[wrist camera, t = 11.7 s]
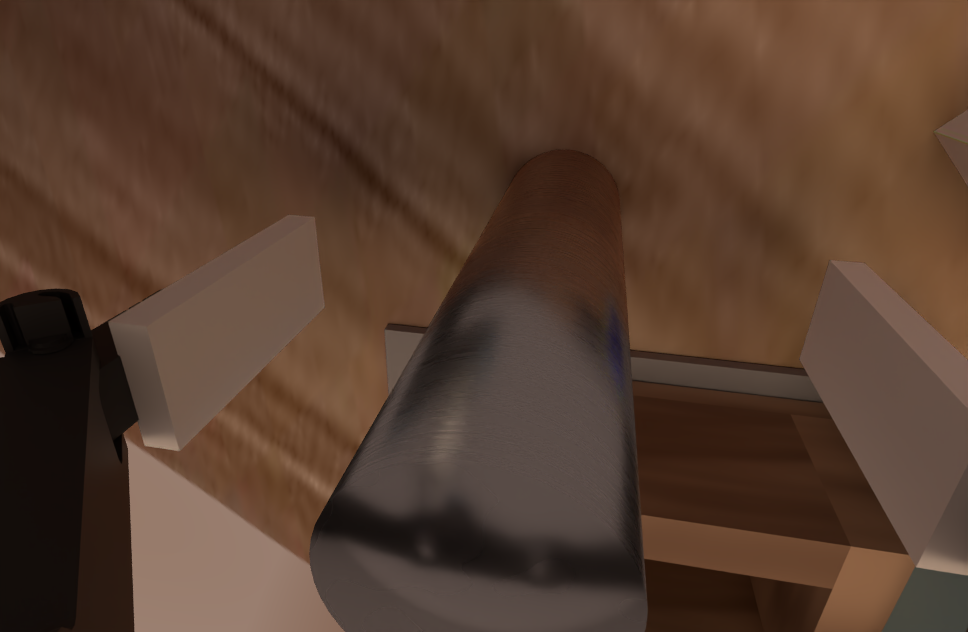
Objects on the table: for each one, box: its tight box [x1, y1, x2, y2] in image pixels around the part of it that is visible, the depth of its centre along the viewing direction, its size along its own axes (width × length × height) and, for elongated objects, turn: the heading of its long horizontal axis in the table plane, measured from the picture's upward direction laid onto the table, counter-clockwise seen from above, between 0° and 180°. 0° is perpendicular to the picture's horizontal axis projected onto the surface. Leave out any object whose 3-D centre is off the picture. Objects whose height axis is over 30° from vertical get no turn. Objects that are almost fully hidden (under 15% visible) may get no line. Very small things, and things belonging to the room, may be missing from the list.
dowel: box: [309, 150, 648, 632], centre depth 14 cm, size 4×4×16 cm
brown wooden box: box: [632, 381, 915, 632], centre depth 21 cm, size 9×9×7 cm
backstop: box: [384, 324, 968, 632], centre depth 21 cm, size 16×19×10 cm
